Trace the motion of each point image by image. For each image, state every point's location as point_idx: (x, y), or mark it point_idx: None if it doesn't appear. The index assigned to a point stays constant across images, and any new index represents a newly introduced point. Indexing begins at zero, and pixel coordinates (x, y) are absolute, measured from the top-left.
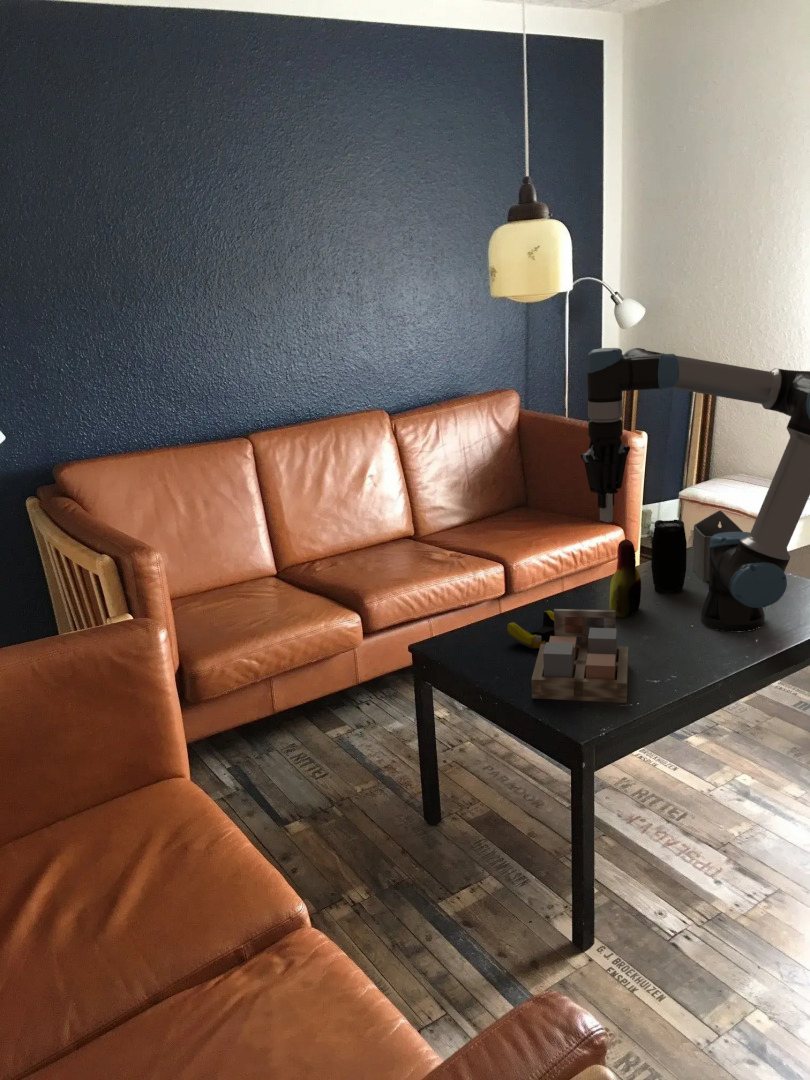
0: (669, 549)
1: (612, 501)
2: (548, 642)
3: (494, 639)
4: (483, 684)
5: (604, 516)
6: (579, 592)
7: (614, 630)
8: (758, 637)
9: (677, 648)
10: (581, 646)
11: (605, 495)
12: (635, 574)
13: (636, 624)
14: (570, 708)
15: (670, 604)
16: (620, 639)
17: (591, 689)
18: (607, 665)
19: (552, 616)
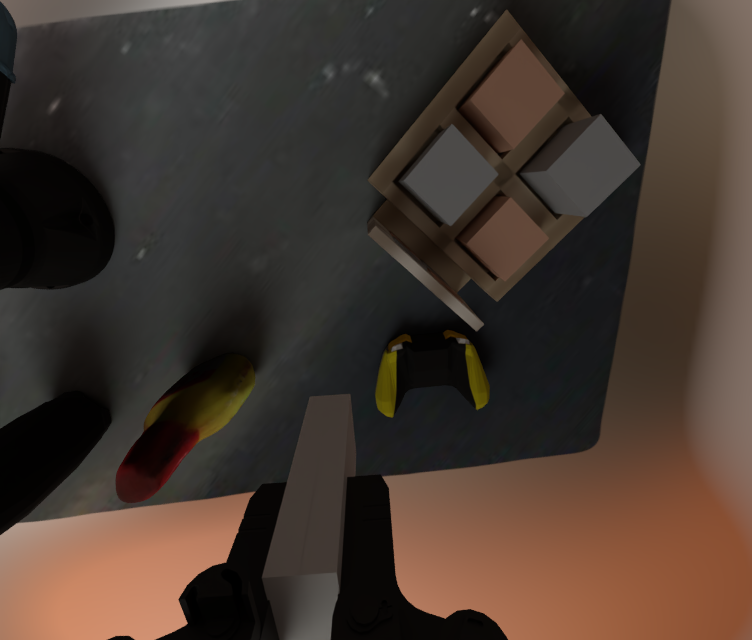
0: (7, 463)
1: (283, 501)
2: (583, 213)
3: (485, 407)
4: (623, 272)
5: (350, 440)
6: (241, 485)
7: (417, 172)
8: (39, 115)
9: (234, 182)
10: (445, 242)
11: (342, 583)
12: (165, 408)
13: (236, 322)
14: (587, 86)
15: (120, 359)
16: (305, 284)
17: None
18: (530, 55)
19: (392, 393)
